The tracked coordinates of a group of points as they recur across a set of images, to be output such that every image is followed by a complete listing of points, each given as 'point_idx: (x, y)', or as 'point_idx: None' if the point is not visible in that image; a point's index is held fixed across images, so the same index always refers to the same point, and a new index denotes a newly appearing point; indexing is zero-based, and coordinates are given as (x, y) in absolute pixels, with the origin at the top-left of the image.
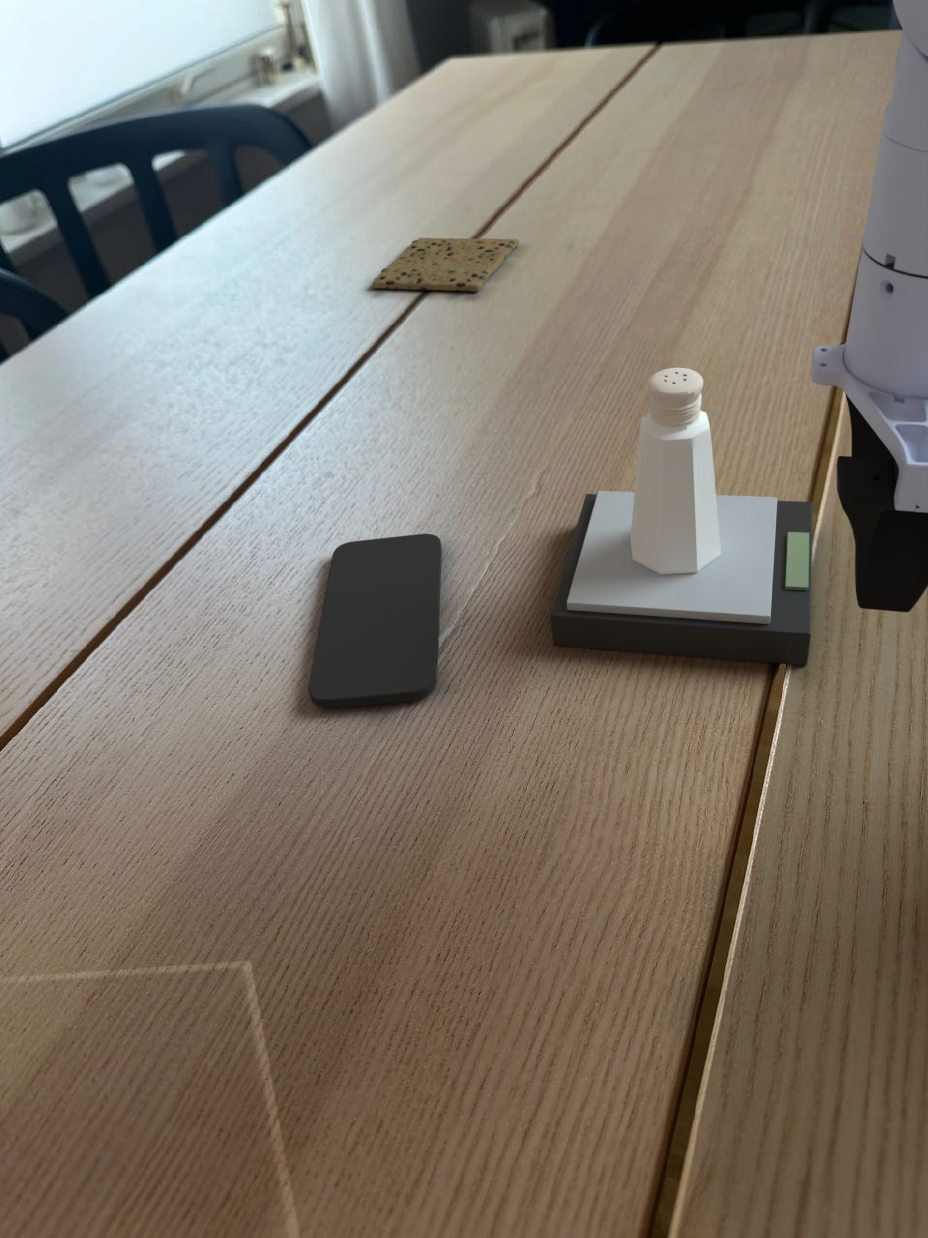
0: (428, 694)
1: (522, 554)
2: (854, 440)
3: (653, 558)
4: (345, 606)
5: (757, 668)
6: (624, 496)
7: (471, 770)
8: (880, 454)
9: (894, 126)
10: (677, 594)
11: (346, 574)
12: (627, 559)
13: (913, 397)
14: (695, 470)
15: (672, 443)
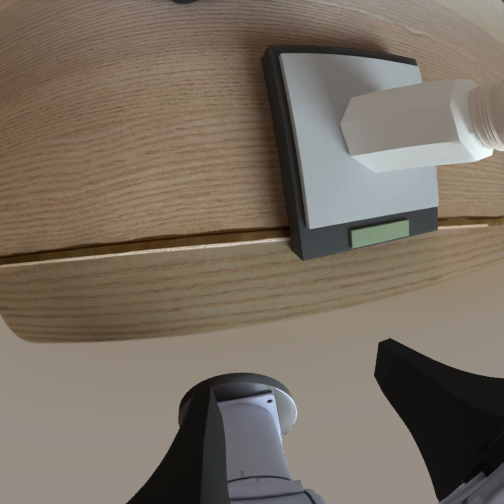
0: (178, 2)
1: (352, 24)
2: (425, 378)
3: (349, 115)
4: None
5: (281, 216)
6: None
7: (120, 56)
8: (408, 389)
9: None
10: (319, 143)
11: None
12: (351, 93)
13: None
14: (427, 146)
15: (448, 115)
